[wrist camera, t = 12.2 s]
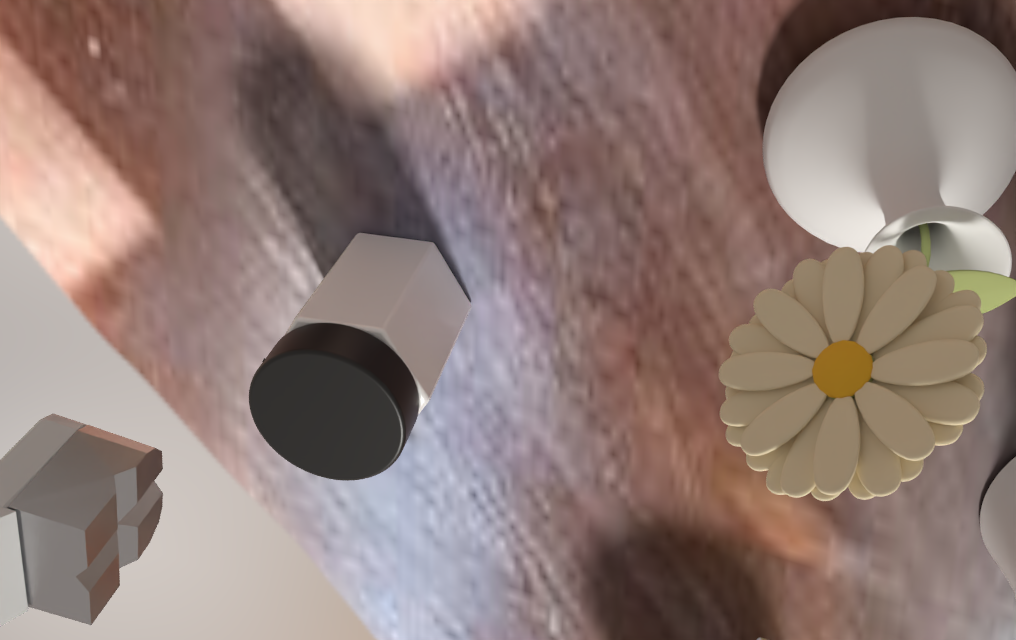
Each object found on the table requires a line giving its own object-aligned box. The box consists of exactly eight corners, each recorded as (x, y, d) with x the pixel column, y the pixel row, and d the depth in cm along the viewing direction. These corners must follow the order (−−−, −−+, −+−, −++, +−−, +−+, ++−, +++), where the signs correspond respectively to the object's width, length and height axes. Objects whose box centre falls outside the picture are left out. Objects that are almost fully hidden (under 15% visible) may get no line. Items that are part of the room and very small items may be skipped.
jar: (303, 254, 56) (209, 372, 46) (417, 206, 53) (341, 322, 43) (382, 371, 59) (310, 503, 50) (492, 333, 56) (439, 467, 46)
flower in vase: (1016, -22, 40) (1297, 258, 20) (1021, 215, 46) (1247, 627, 25) (709, 46, 45) (680, 335, 24) (747, 256, 50) (749, 638, 29)
